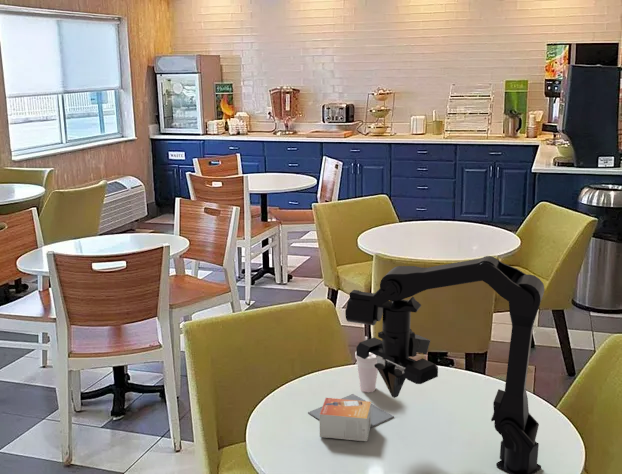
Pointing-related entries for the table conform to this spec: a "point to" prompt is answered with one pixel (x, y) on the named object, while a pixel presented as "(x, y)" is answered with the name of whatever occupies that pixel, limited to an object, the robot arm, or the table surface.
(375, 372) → the smoothie
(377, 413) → the mat
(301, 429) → the table surface
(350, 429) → the small box
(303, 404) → the table surface
